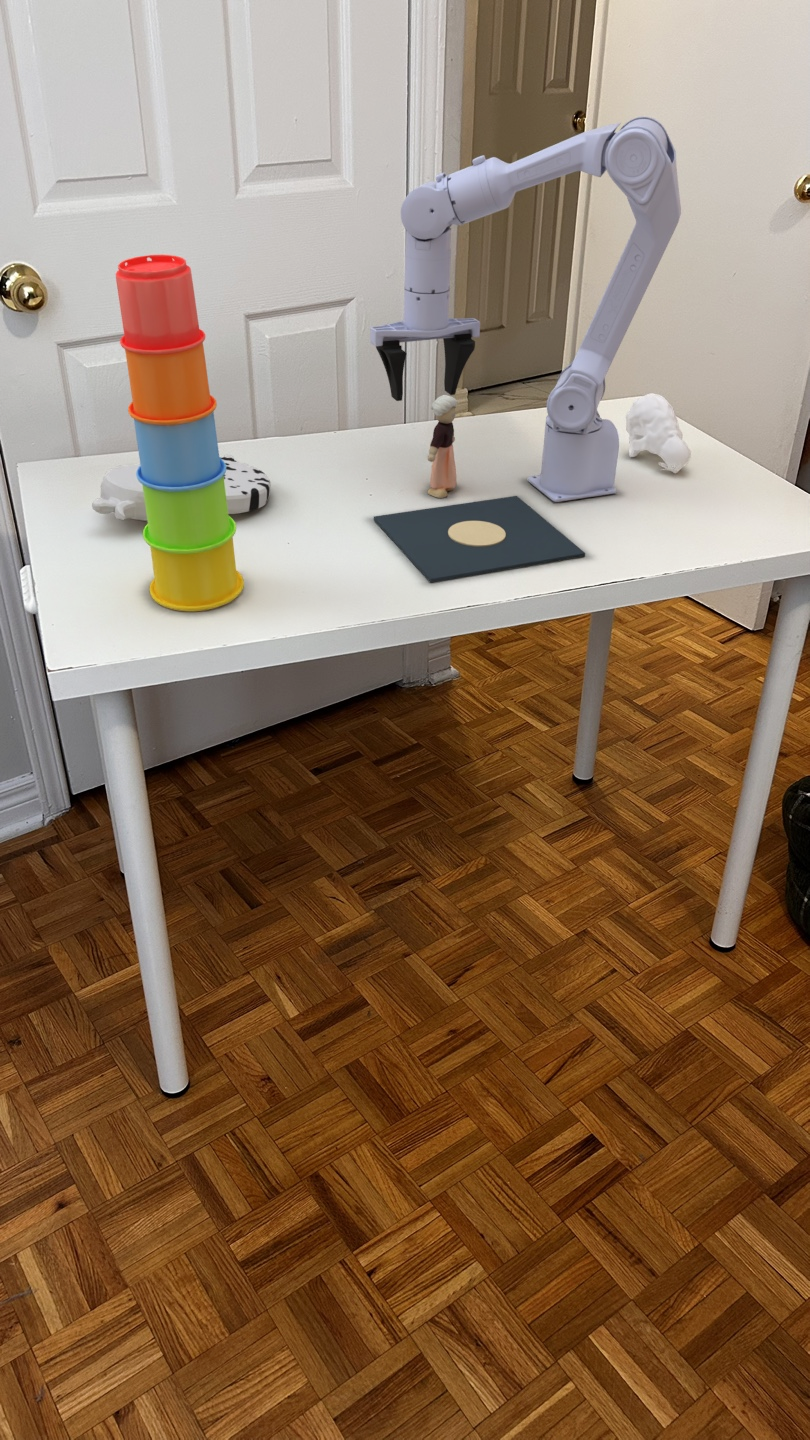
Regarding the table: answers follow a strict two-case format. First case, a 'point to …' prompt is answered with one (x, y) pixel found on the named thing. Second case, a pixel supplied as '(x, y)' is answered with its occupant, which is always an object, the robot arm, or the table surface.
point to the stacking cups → (176, 437)
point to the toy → (127, 496)
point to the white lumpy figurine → (656, 431)
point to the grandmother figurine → (443, 448)
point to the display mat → (476, 538)
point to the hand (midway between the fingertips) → (423, 395)
